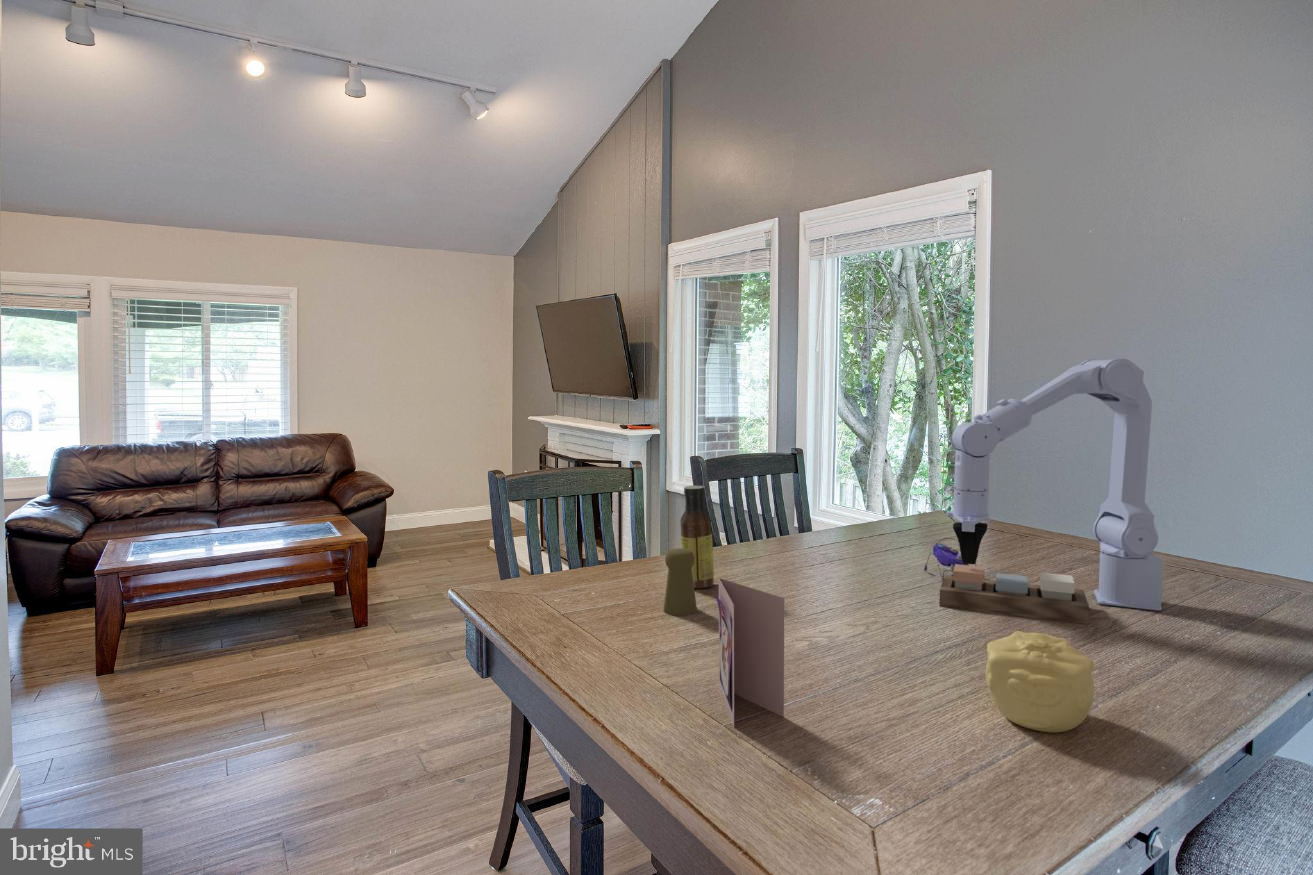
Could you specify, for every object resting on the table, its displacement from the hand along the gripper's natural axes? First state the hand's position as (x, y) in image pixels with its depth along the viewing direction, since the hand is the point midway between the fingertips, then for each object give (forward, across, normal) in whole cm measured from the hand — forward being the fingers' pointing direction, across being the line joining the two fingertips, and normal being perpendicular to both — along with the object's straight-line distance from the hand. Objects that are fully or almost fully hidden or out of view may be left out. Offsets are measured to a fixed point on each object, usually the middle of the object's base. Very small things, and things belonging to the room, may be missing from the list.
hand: (969, 563), depth 132 cm
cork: (+7, +26, -46) cm, 53 cm away
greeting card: (+7, +56, -23) cm, 61 cm away
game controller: (+8, -17, -5) cm, 19 cm away
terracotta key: (+4, 0, 0) cm, 4 cm away
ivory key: (+5, 0, +14) cm, 15 cm away
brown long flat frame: (+7, 0, +7) cm, 10 cm away
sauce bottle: (+7, +11, -49) cm, 51 cm away
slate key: (+5, 0, +7) cm, 9 cm away
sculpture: (+7, +45, +10) cm, 47 cm away
